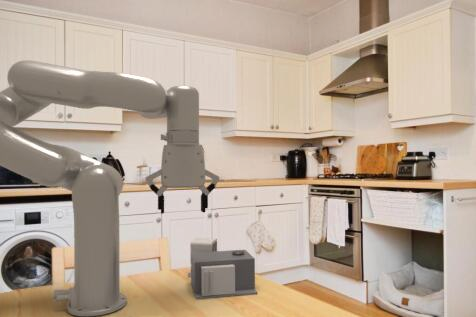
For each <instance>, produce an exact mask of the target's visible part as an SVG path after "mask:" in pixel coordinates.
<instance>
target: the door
mask: <svg viewBox="0 0 476 317" xmlns="http://www.w3.org/2000/svg"><path fill="white" fill-rule="evenodd" d="M234 293H235V266H234V264H232V265H217V266H201V294H202V296H210V295H222V294H234Z"/></svg>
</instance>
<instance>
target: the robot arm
mask: <svg viewBox="0 0 476 317" xmlns="http://www.w3.org/2000/svg"><path fill="white" fill-rule="evenodd" d="M7 83H8V87H6V88H5V89H2V90H1V91H0V166H1V167H2V168H5V169H7V170H9V171H11V172H13V173H15V174H17V175H20V176H22V177H25V178H27V179H29V180H31V181H33V182H35V183H37V184H39V185H40V186H45V187H48V188H51V187H60V188H63V189H65V190H67V191H70V192H71V202H72V209H73V210H72V211H73V236H74V237H73V239H74V241H73V242H74V244H73V245H74V247H73V248H74V250H73V252H74V254H73V255H74V259H73V260H74V261H73V262H74V267H73V268H74V269H73V270H74V271H73V272H74V273H73V275H74V282H73V283H74V285H73V287H69V289H54V290H53V294H52V295H53V300H56V302H65V301H68V302H67V304H66V311H67V313H68V314H70V315H73V316H76V317H98V316H103V315H109V314H111V313H113V312H116V311H119V310H120V309H123V308H124V307H125V306H126V304H127V303H128V301H127V298H128V297H127V296H126V295H125V294H124V293H122V292H121V290H120V289H121V286H120V282H121V281H120V276H121V274H120V271H121V268H120V204H119V202H120V200H119V197H120V195H121V193H122V191H123V188H124V180H123V177H122V175H121V173H120V172H119V171H118V170H117V169H116V168H114V167H113V166H111V165H109V164H106V163H104V162H103V161H100V160H98V159H95V158H93V157H92V156H89V155H86V154H84V153H82V152H80V151H77V150H75V149H73V148H70V147H68V146H64V145H58V144H52V143H49V142H46V141H43V140H42V139H39V138H36V137H35V136H32V135H30V134H28V133H26V132H24V131H22V130H20V129H17V128H15V126H17V125H19V124H21V123H22V122H24V121H26V120H27V119H29V118H30V117H33V116H34V115H36V114H37V113H39V112H41V111H42V110H44V109H45V108H47V107H48V106H50V105H52V104H54V105H59V106H66V107H73V108H77V109H84V110H85V109H86V110H87V109H88V110H89V109H94V108H97V107H99V108H100V107H101V108H102V107H105V108H114V109H120V110H121V109H122V110H127V111H133V112H137V113H138V114H139V116H140V117H143V118H145V119H148V120H149V119H150V120H154V119H162V118H166V132H165V133H163V134H162V133H161V134H160V140H161V141H165V142H166V144H164V145H163V148H162V155H161V168H160V169H159V170H156V171H155V172H152V173H151V174H149V175H148V176H145V182H146V183H147V185H148V186H149V188H150V190H152V191H153V193H154V194H156V196H157V210H158V211H160V214H161V215H162V214H164V213H165V195H164V193H165V192H166V190H167V189H168V188H169V189H170V188H171V189H172V188H173V189H175V188H176V189H177V188H178V189H180V188H182V189H184V188H187V189H188V188H190V189H191V188H194V189H195V188H198V189H199V190H200V191H201V195H200V212H201V213H206V209H208V206H209V196H210V193H211V192H212V191H213V190H214V189H215V188H216V186H217V184H218V183H219V180H220V176H219V175H217V174H216V173H213V172H211V171H210V170H208V169H206V163H205V153H204V147H203V144H202V145H201V144H200V93H199V91H198V89H197V88H195V87H193V86H189V85H176V86H175V85H174V86H171V87H169V88H168V89H165V88H164V87H163V85H162V84H161V83H159V82H158V81H157V80H155V79H152V78H149V77H148V78H147V77H144V76H138V75H132V74H128V73H127V74H126V73H122V72H115V71H113V72H111V71H96V70H84V69H80V68H79V69H78V68H73V67H68V66H64V65H63V66H62V65H57V64H51V63H47V62H42V61H36V60H20V61H17V62H15V63H13V64H12V65H11V67H10V68H9V70H8V72H7ZM158 177H160V182H161V183H160V184H161V186H160V187H158V186H156V185H155V183H154V179H155V180H156V179H157V178H158ZM206 177H208V178H209V179H211V182H210V184H208V185H207V186H205V185H206Z"/></svg>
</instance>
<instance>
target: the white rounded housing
mask: <svg viewBox="0 0 476 317" xmlns="http://www.w3.org/2000/svg"><path fill="white" fill-rule="evenodd" d="M214 251H218V238H212V237H211V238H210V237H208V238H205V237H204V238H203V237H196V238H194V239H193V240H191V241H190V254H191V253H197V252H214ZM187 274H188V278H191V270H189V271H188V272H187Z"/></svg>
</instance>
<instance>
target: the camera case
mask: <svg viewBox="0 0 476 317" xmlns="http://www.w3.org/2000/svg"><path fill="white" fill-rule="evenodd" d="M255 259H256V258H255V257H253V255H251V253H250V252H248V250H246V249H236V250H235V249H234V250H219V251H218V250H217V251H214V252H197V253H191V252H190V271H191V277H190V282H191V283H190V284H191V287H192V291H193V294H194V298H195V300H203V299H214V298H227V297H238V296H239V297H241V296H249V295H258V291H257V290H256V287H255V286H256V276H255V275H256V272H255V271H256V269H255V268H256V261H255ZM232 264H234V266H235V293H234V294H222V295H210V296H202V294H201V266H217V265H232Z"/></svg>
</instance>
